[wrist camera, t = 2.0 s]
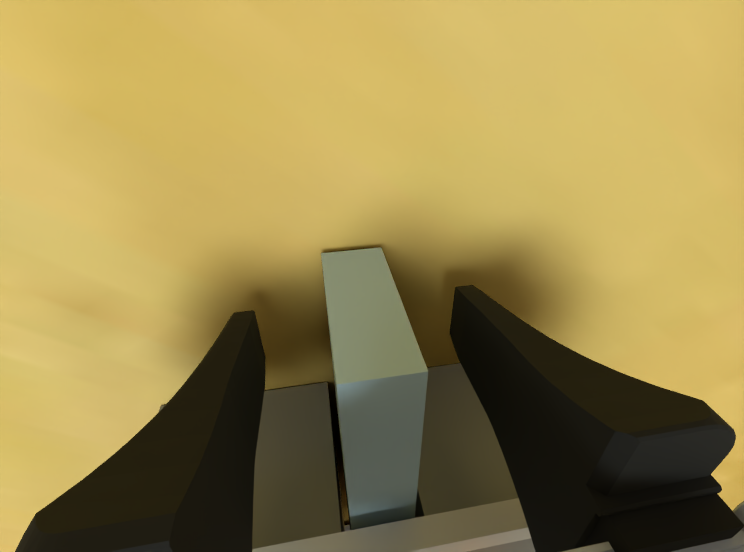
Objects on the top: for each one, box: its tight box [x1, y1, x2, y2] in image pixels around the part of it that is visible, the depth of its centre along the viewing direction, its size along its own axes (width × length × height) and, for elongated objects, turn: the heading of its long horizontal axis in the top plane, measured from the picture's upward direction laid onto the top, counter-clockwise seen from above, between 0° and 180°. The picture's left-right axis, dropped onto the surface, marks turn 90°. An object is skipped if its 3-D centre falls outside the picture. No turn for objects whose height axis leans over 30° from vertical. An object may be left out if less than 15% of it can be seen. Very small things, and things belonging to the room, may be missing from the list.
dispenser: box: [159, 363, 535, 552], centre depth 17 cm, size 12×16×7 cm
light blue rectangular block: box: [321, 247, 428, 530], centre depth 15 cm, size 14×2×6 cm, turn 1°
